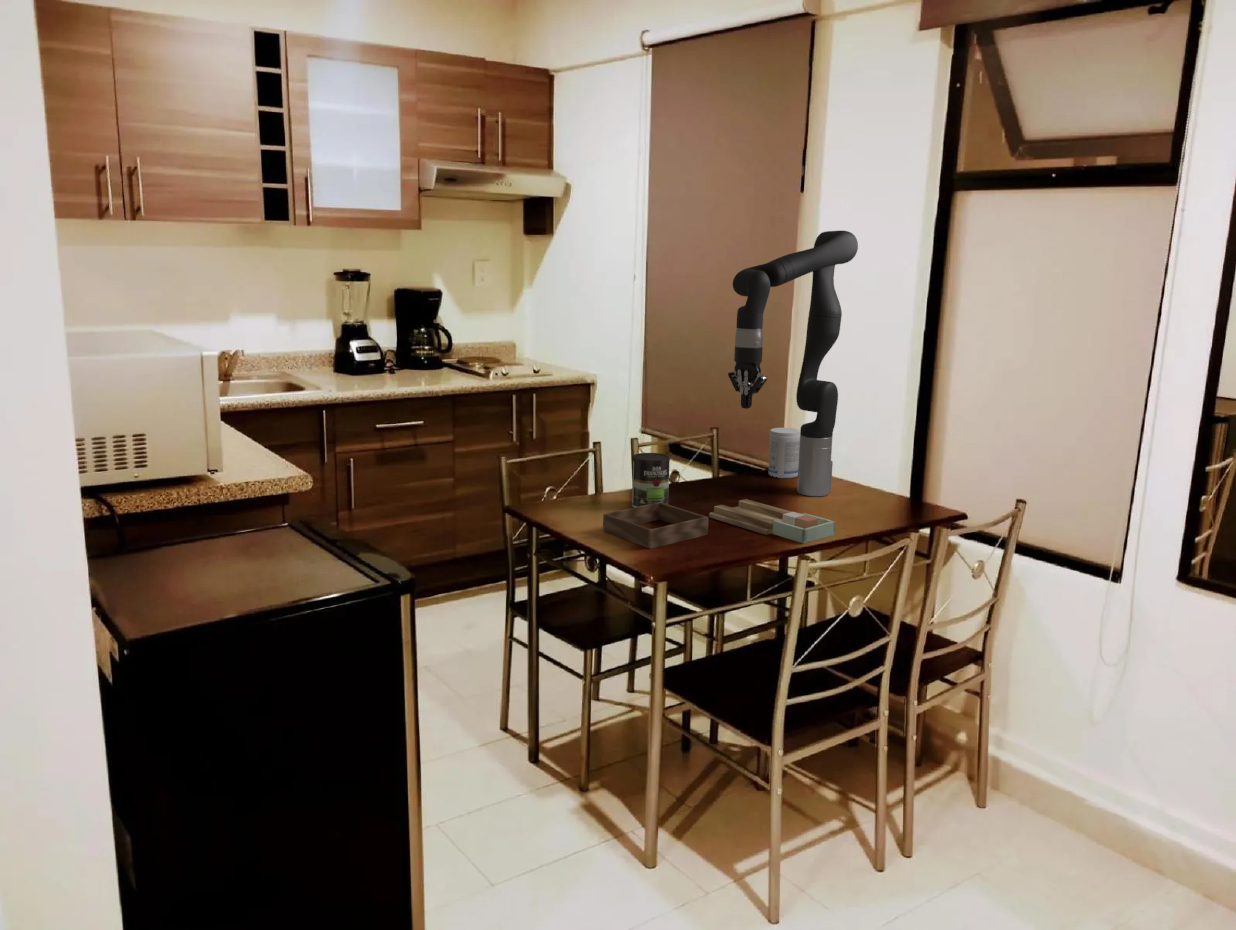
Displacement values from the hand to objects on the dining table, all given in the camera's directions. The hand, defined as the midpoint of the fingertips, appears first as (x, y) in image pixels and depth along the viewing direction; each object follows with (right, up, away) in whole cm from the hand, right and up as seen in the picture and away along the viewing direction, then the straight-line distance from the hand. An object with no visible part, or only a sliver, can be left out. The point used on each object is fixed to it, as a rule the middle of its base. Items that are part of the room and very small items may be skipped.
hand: (745, 408), depth 260 cm
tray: (+11, -33, -23) cm, 42 cm away
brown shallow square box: (-26, -33, -24) cm, 48 cm away
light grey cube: (+9, -32, -21) cm, 39 cm away
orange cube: (+12, -33, -24) cm, 42 cm away
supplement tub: (+17, -19, +39) cm, 47 cm away
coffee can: (-26, -27, +1) cm, 38 cm away
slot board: (+2, -30, -11) cm, 32 cm away
